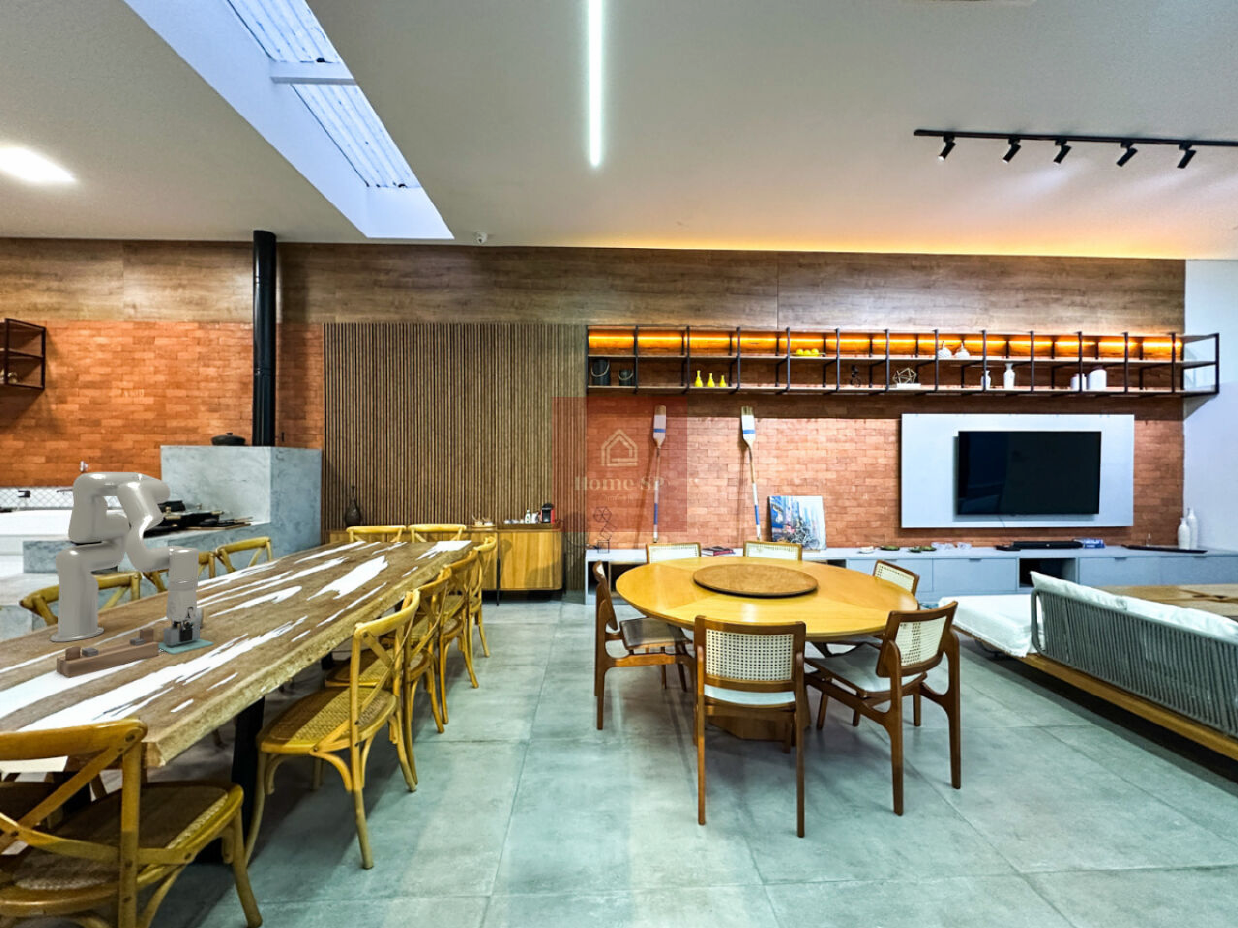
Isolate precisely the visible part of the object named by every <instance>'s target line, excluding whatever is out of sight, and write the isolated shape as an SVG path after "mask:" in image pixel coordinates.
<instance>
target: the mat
mask: <svg viewBox="0 0 1238 928" xmlns="http://www.w3.org/2000/svg"><path fill="white" fill-rule="evenodd" d="M158 643H159V646H158V650H159V649H161V650H163V651H162V652H164V651H166V652H165V653H167V652H168V653H167V654H169V653H170V655H172V654H173V656H175V655H178V654H177V653H179V654H182V653H181V652H183V653H186V652H185V651H187V652H190V651H189V650H191V651H194V650H193V649H195V650H199V649H202V648H205V647H210V646H213V644H214V642H213V641H209V640H206V639H203V638H200V639H197V640H193V641H189V642H185V643H181V644H177V645H173V646H169V645H167V644H164V643H163V641H160V642H158ZM161 650H160V651H161ZM174 654H175V655H174Z"/></svg>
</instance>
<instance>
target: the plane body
mask: <svg viewBox="0 0 1238 928" xmlns="http://www.w3.org/2000/svg"><path fill="white" fill-rule="evenodd" d="M154 630H155V629H154V628H152V627H146V628H145V627H144V628H141V629H139V636H136V637H132V638H131V637H130V638H129V641H127V642H124V643H123V642H122V643H118V644H114V645H109V646H105V647H100V648H95V647H92V646H91V647H90V646H89V647H86V648H81V647H82V646H72V647H68V648H65V652H64V653H65V654H64V656H60V657H56V673H58V674H60V675H62V676H64V677H66V678H68V679H71V678H75V677H78V676H83V675H86V674H90V673H94V672H99V671H102V670H105V669H110V668H114V667H117V666H121V665H126V664H130V663H133V662H138V661H141V660H146V659H149V658H148V657H150V658H154V657H157V656H156V655H158V656H159V649H158V646H159V642H157V641H154V634H155V633H154V632H155V631H154ZM153 656H154V657H153Z"/></svg>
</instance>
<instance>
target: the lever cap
mask: <svg viewBox="0 0 1238 928" xmlns="http://www.w3.org/2000/svg"><path fill="white" fill-rule="evenodd" d="M186 623H187V622H185V624H186ZM180 630H182V626H181V623H180V624H177V625H176V626H168V627H163V641H162V642H163V643H164V644H167V645H169V646H173V645H177V644H181V643H185V642H189V641H193V640H197V639H201V627H200V624H198V623H195V622H194V624H193V637H192V640H189V641H185V642H180Z"/></svg>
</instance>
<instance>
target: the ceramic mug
mask: <svg viewBox="0 0 1238 928" xmlns="http://www.w3.org/2000/svg"><path fill="white" fill-rule="evenodd" d="M204 617H205V609H204V608H202V607H201V608H200V607H199V608H198V607H197V616H196V618H195V619H196V621H195V623H198V624H200V628H203V626H204V619H205V618H204ZM187 619H189V618H185V619H184V620H187ZM186 622H188V621H186Z"/></svg>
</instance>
